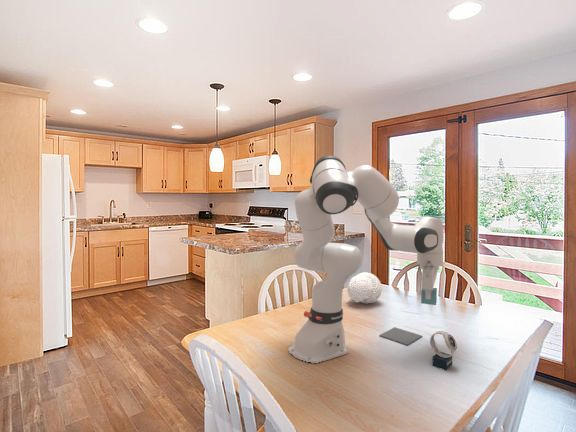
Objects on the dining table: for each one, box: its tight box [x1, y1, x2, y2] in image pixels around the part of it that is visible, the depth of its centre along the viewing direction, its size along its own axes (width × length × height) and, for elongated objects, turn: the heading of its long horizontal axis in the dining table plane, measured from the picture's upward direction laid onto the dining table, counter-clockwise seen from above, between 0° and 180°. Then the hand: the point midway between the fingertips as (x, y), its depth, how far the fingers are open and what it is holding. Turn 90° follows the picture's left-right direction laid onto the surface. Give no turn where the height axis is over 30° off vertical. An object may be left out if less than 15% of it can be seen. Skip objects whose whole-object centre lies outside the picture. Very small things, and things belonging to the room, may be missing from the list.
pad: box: [378, 327, 423, 347], centre depth 134 cm, size 12×12×1 cm
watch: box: [429, 330, 458, 371], centre depth 111 cm, size 6×8×11 cm
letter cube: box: [420, 287, 438, 306], centre depth 124 cm, size 5×5×5 cm
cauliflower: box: [346, 271, 383, 304], centre depth 174 cm, size 20×18×16 cm
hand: (428, 296), depth 124 cm, fingers closed on letter cube, 5 cm apart
